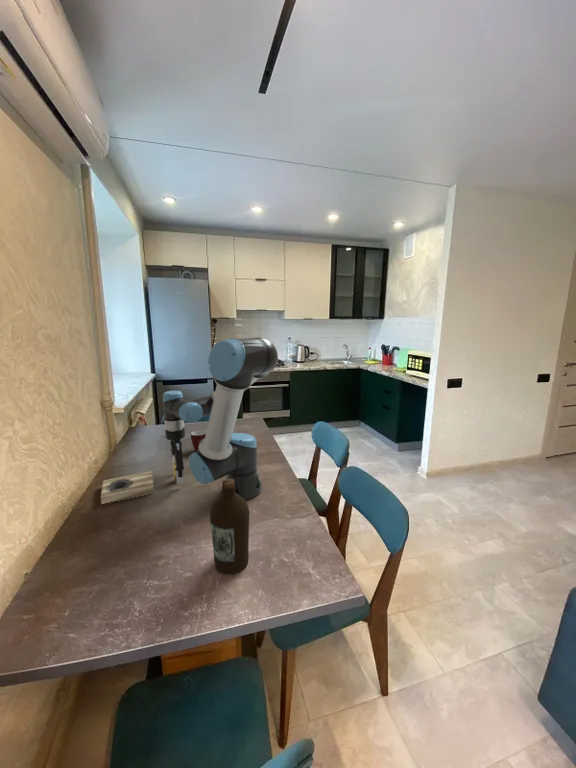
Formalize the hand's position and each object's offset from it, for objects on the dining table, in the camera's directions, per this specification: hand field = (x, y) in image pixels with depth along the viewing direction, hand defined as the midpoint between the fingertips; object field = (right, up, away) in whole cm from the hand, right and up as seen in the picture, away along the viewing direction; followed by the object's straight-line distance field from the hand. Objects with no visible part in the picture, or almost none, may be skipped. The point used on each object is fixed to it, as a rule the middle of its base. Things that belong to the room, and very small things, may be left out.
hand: (178, 475), depth 132 cm
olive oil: (+31, -12, -44) cm, 55 cm away
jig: (-17, -4, -7) cm, 19 cm away
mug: (+1, +4, +29) cm, 29 cm away
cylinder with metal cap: (0, -2, 0) cm, 2 cm away
